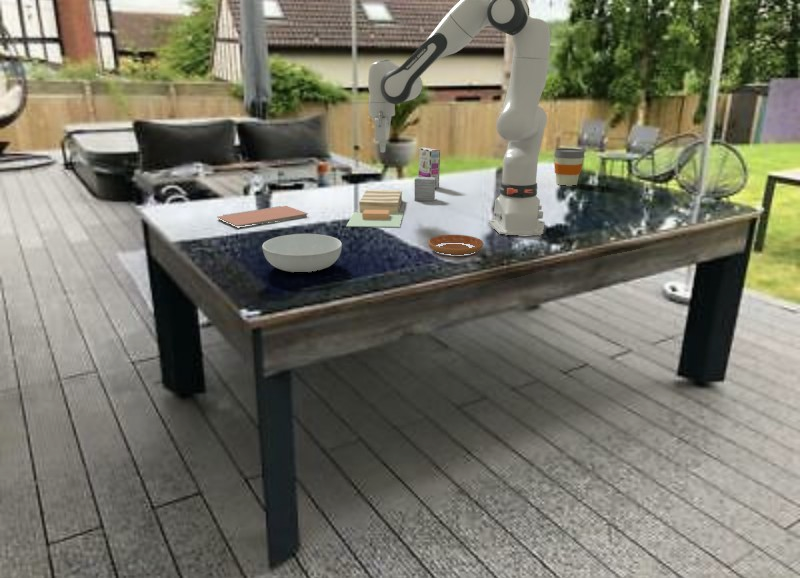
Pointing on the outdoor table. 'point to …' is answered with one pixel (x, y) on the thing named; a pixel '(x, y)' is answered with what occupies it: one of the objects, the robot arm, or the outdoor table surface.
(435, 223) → the outdoor table surface
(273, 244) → the serving bowl
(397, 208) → the plate
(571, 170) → the reusable coffee cup
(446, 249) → the saucer
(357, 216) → the mat
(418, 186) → the medicine box
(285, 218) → the notebook
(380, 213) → the orange rectangular block
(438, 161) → the candy bar box
